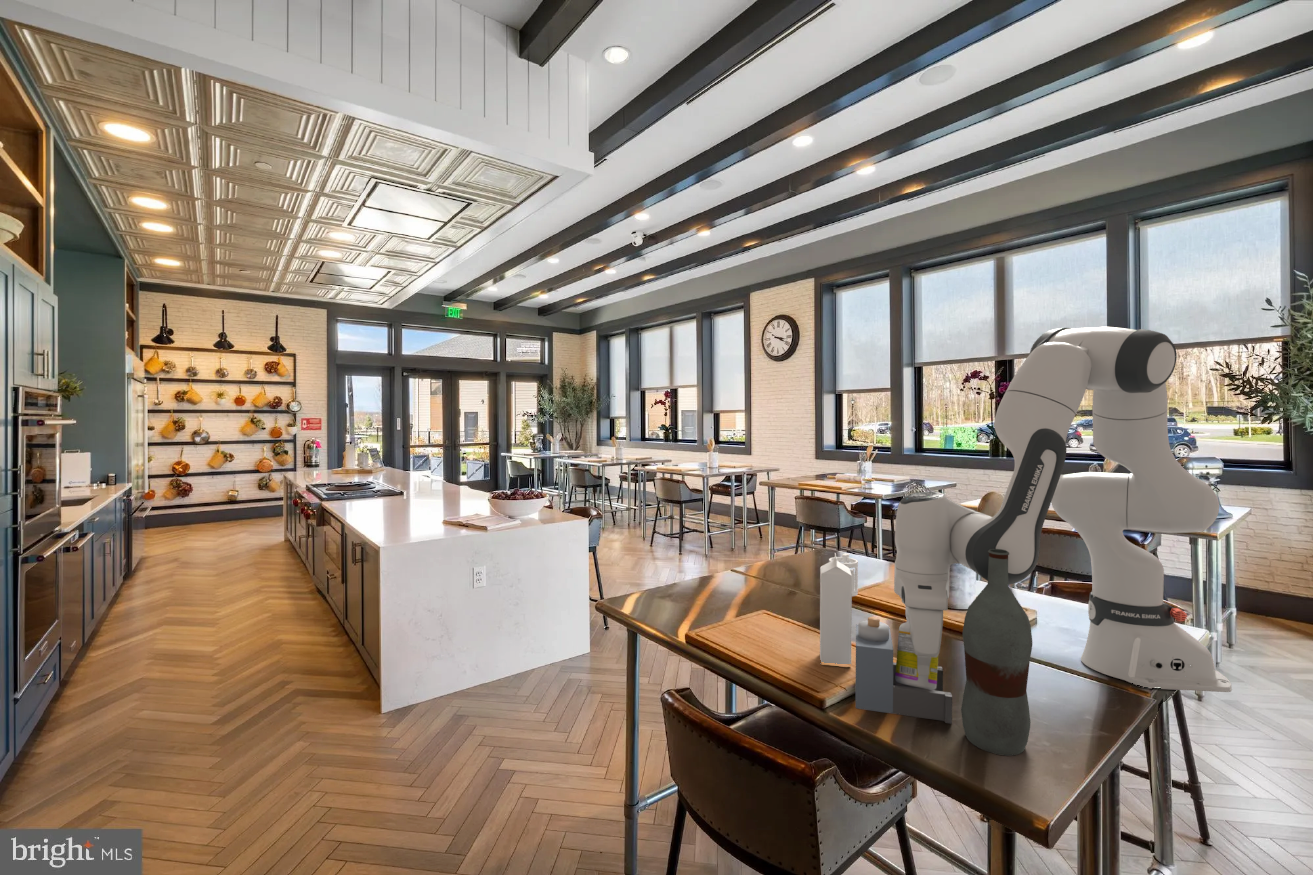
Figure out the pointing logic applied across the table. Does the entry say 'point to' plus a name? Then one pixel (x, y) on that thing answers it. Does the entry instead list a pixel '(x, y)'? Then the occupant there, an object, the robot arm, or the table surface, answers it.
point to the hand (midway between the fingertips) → (920, 662)
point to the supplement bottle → (912, 662)
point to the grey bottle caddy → (892, 679)
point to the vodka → (997, 665)
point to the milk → (835, 613)
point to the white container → (852, 564)
